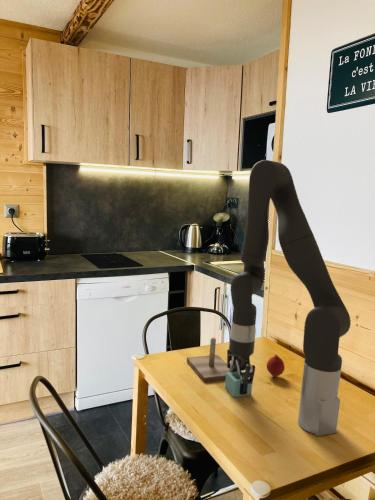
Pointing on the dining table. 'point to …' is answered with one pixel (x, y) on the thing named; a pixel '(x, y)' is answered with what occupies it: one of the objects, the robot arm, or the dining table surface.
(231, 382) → the bead
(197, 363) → the stand
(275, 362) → the onion
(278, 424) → the dining table surface
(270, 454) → the dining table surface
